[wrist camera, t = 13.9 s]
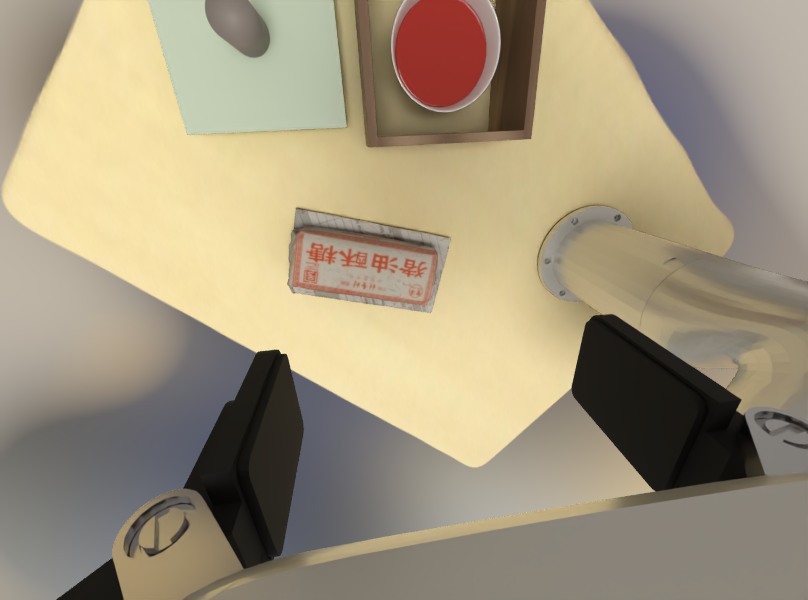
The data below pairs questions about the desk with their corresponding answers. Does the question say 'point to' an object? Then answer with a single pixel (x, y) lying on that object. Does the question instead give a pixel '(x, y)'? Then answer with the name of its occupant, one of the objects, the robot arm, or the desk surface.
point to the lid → (252, 64)
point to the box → (509, 85)
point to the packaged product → (365, 261)
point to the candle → (445, 51)
